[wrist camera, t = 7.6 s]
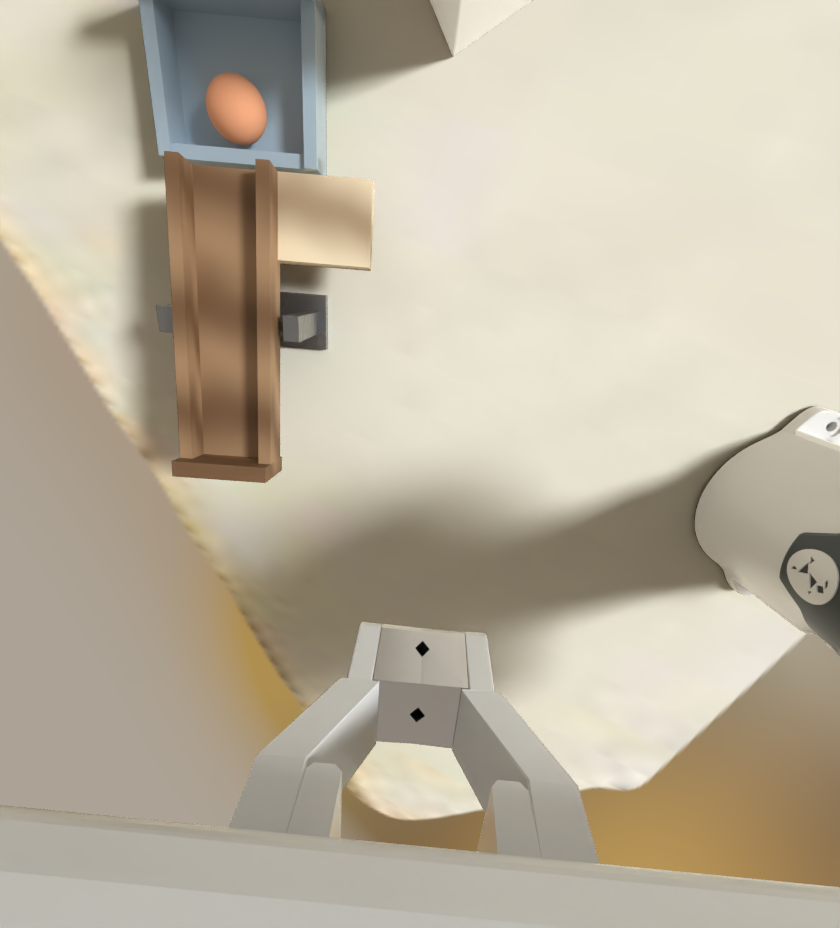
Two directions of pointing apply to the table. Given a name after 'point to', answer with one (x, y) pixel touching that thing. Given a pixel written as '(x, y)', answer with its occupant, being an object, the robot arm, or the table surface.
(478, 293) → the table surface
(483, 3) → the milk
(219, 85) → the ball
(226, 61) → the light blue open box
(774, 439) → the robot arm
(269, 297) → the lever
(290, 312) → the pivot stand
